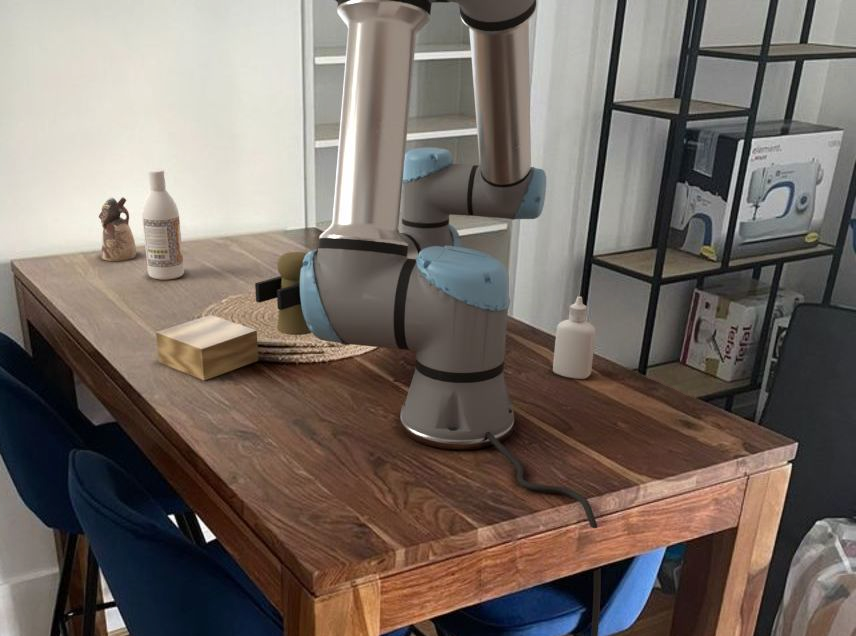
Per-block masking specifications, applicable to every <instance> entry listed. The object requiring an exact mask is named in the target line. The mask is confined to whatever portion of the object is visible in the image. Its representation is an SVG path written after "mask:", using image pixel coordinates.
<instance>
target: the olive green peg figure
mask: <svg viewBox="0 0 856 636" xmlns="http://www.w3.org/2000/svg"><path fill="white" fill-rule="evenodd" d="M306 254H307V253H306V252H302V251H289V252H286V253H283V254H282V255H280V256H279V258H278V259H277V264H276V267H277V272H278V274H279V276H281V277H282V282H281V289H282V288H286V287H289V286H293V285H296V284H300V272H301V268H302V267H303V260H304V257H305V256H306ZM276 328H277V331H278V332H279V333H281V334H284V335H289V336H303V335H311V334H312V332H311V331H310V330H309V328H308V326H307V323H306V321H305V318H304V315H303V311H302V306H301V304H299V305H296V306H293V307H289V308H286V309H283V310H280V309H278V315H277V327H276Z"/></svg>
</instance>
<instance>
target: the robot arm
mask: <svg viewBox="0 0 856 636" xmlns="http://www.w3.org/2000/svg"><path fill="white" fill-rule="evenodd" d="M333 1H335V2H336V3H337V9H336V11H337V15H338V16H339V17H340V18H341V20H342V21H343V22H344V24H345V25H346V27H347V38H346V50H345V61H344V62H345V63H344V73H343V86H342V99H341V109H340V110H341V111H340V123H339V135H338V136H339V137H338V149H337V161H336V173H335V185H334V199H333V210H332V220H331V221H332V222H331V224H330V226H329V227H328V228H327V229H325V231H323V232H322V233H321V234H320V235H319V238H318V248H317V249H313V250H311V251H309V252H307V253H306V256H305V257H304V260H303V267H302V268H301V272H300V284H296V285H293V286H289V287H286V288H282V289H281V282H282V277H281V275H279V276H276V277H273V278H269V279H265V280H262V281H261V280H260V281H258V282H257V281H256V282H255V283H254V286H255V287H254V289H255V302H256V303H258V304H259V303H263V302H267V301H270V300H274V299H276V301H277V304H276V305H277V310H279V309H280V310H283V309H286V308H289V307H293V306H296V305H299V304H301V306H302V311H303V315H304V318H305V321H306V323H307V326H308V328H309V330H310V331H311V332H312V333H311V334H312V335H313V336H314V337H315V338H317V339H319V340H321V341H325V342H331V343H336V344H337V343H338V344H341V345H343V346H349V345H353V346H354V345H355V346H363V347H373V348H381V349H382V348H384V349H394V350H405V351H413V352H414V355H415V361H414V363H415V364H414V374H413V376H412V379H411V383H410V385H409V389H408V392H407V395H406V397H405V398H406V399H405V400H404V401H403V402H402V403H403V404H402V406H401V409H400V420H399V421H400V428H401V431H402V432H403V433H404V435H406V436H407V437H408V438H410V439H412V440H414V441H415V442H417V443H420V444H423V445H426V446H429V447H434V448H439V449H445V450H460V451H461V450H462V451H463V450H465V451H466V450H477V449H482V448H488V447H493V446H495V448H496V449H497V450H498V451H499V452H500V453H501V454H502V455H503V456H504V457H505V458H506V459H507V460H508V461H509V462H511V464H512V465H513V466H514V467H515V469H516V471H517V473H516V481H517V483H518V484H519V485H520V486H521V487H523V488H525V489H527V490H530V491H534V492H543V493H555V494H562V495H565V496H568V497H570V498H572V499H573V500H576V501H577V502H579V503H580V504H581V506H582V508H583V510H584V512H585V515H586V518H587V521H588V523H589V526H590V527H591V528H593V529H598V523H597V520H596V518H595V515H594V512H593V509H592V507H591V504H590V502H589V501H588V499H587V498H586V497H585V496H583V495H582V494H580V493H578V492H576V491H574V490H572V489H569V488H567V487H563V486H558V485H547V484H546V485H544V484H535V483H531V482H528V481H527V480H525V479H524V474H525V471H524V467H523V465H522V464H521V462H520V461H519V460H518V459H517V458H516V456H515V455H513V454H512V453H511V452H510V451H509V450H508V449H507V448H506V446H505V445H503V444H502V443H501V442H504V441H505V440H507V439H508V438H509V437H510V436H511V435H512V434H513V431H514V427H515V415H514V408H513V406H512V403H511V399H510V393H509V389H508V386H507V382H506V379H505V374H504V373H505V372H504V371H505V358H506V357H505V356H506V341H507V328H508V314H509V307H510V305H511V299H510V275H509V271H508V269H507V268H506V266H505V265H504V264H503V263H502V262H501V261H500V260H499V259H497V258H495V257H494V256H493V255H490V254H488V253H486V252H482V251H480V250H476V249H472V248H468V247H463V246H462V241H461V239H460V234H459V232H458V230H457V229H456V228H455V227H454V226H453V225H452V224H450V215H452V216H469V217H481V218H494V219H505V220H506V219H507V220H513V221H514V220H535V219H538V218H539V217H540V216H541V215H542V213H543V210H544V205H545V200H546V193H547V174H546V172H545V170H544V169H542V168H536V167H534V166H532V145H531V144H532V141H531V139H532V138H531V137H532V136H531V135H532V134H531V93H530V92H531V83H530V82H531V81H530V80H531V79H530V31H529V30H530V29H529V25H530V24H529V20H531V19H532V17H533V16H534V14H535V12H536V9H537V0H333ZM433 3H436V4H437V3H441V4H442V3H447V4H448V3H455V4H457V5H459V16H460V19H461V21H462V23H463V24H464V25H465V26H466V27H467V28H468V29H469V30H468V31H469V44H470V55H471V56H470V57H471V69H472V83H473V95H474V107H475V109H474V110H475V121H476V122H475V123H476V132H477V133H476V134H477V146H478V160H479V161H478V162H479V165H477V164H464V163H463V164H461V163H454V162H453V161H454V160H453V156H452V153H451V151H449V149H446V148H439V147H417V148H416V147H415V148H413V149H410V150H409V151H407V152H406V150H407V149H406V148H407V139H408V128H409V116H410V107H411V97H412V96H411V94H412V86H413V75H414V63H415V54H416V43H417V42H416V41H417V35H418V33H419V32H420V31H421V30H422V29H423V28H424V27H426V26H427V24H428V23H430V21H431V13H432V12H431V11H432V4H433ZM400 212H401V232H400V230H399V223H400ZM601 572H602V569H601V568H598V569H596V570H594V571H593V594H592V595H593V596H592V599H593V600H592V615H591V618H592V619H591V632H590V636H599V624H600V610H601V587H602V586H601V585H602V584H601V583H602V582H601V579H602V578H601V577H602V575H601V574H602V573H601Z"/></svg>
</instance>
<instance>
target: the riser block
mask: <svg viewBox="0 0 856 636" xmlns="http://www.w3.org/2000/svg"><path fill="white" fill-rule="evenodd" d="M155 336H156V347H157V357H158V363H159V364H162V365H164V366H166V367H169V368H172V369H174V370H177V371H179V372H182V373H185V374H187V375H189V376H191V377H195V378H197V379H199V380H202V381H207V380H209V379H212V378H215V377H217V376H221V375H224V374H225V373H229V372H231V371H234V370H237V369H239V368H243V367H245V366H247V365H250V364H254V363H256V362H259V345H258V330H257V329H254V328H252V327H249V326H245V325H242V324H239V323H236V322H233V321H231V320H227V319H225V318H222V317H219V316H215V315H212V314H209V315H206V316H202V317H200V318H196V319H194V320H190V321H187V322H184V323H181V324H178V325H174V326H171V327H169V328H165V329H162V330H159V331H156V332H155Z"/></svg>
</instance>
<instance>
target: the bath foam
mask: <svg viewBox="0 0 856 636" xmlns="http://www.w3.org/2000/svg"><path fill="white" fill-rule="evenodd" d="M148 183H149V192H148V194H147V195H146V198H145V200H144V202H143V205H142V209H141V210H142V211H141V215H142V216H141V218H142V219H141V220H142V227H143V238H144V247H145V257H146V265H147V274H148V276H149V277H150V278H151V279H155V280H161V281H163V280H165V281H166V280H168V281H169V280H174V279H178V278H180V277H182V276H183V275H184V273H185V267H184V256H183V244H182V231H181V221H180V214H179V208H178V206H177V204H176V202H175V200H174V198H173V197H172V196H171V195H170V193H169V192H168V190H167V189H166V178H165V170H164V169H162V168H152V169H148Z"/></svg>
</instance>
